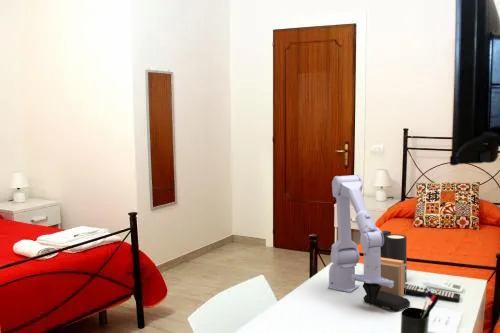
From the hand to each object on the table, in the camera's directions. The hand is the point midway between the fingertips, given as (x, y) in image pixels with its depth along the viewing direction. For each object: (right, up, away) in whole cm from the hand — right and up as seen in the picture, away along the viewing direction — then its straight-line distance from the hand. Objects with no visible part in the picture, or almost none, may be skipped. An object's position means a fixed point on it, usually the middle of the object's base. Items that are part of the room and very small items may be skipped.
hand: (372, 304), depth 177 cm
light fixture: (+15, +2, +31) cm, 34 cm away
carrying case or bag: (+5, -2, +3) cm, 7 cm away
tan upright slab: (+10, 0, +13) cm, 17 cm away
